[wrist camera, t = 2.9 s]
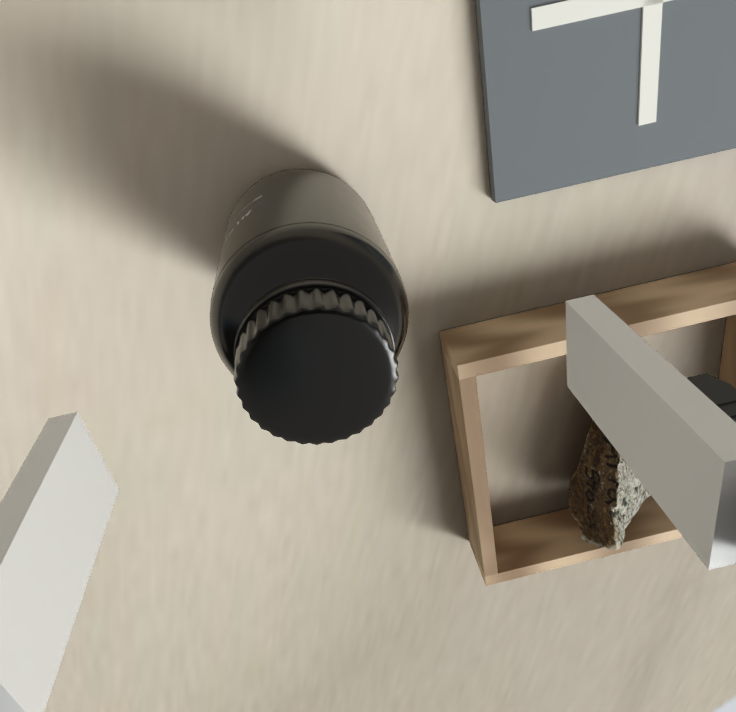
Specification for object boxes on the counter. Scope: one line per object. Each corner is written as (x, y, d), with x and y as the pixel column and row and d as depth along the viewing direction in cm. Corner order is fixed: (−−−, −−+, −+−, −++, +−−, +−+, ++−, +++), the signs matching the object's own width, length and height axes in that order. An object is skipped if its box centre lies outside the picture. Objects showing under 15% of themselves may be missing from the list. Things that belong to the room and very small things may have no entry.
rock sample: (737, 518, 36) (708, 584, 29) (605, 505, 41) (554, 558, 34) (722, 345, 35) (688, 371, 28) (589, 352, 40) (533, 376, 33)
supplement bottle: (209, 176, 26) (168, 284, 15) (368, 156, 26) (431, 248, 16) (241, 320, 29) (225, 487, 19) (380, 300, 30) (439, 452, 19)
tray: (469, 541, 39) (485, 585, 36) (439, 331, 31) (457, 365, 28) (716, 480, 39) (753, 519, 36) (748, 259, 31) (799, 284, 28)
